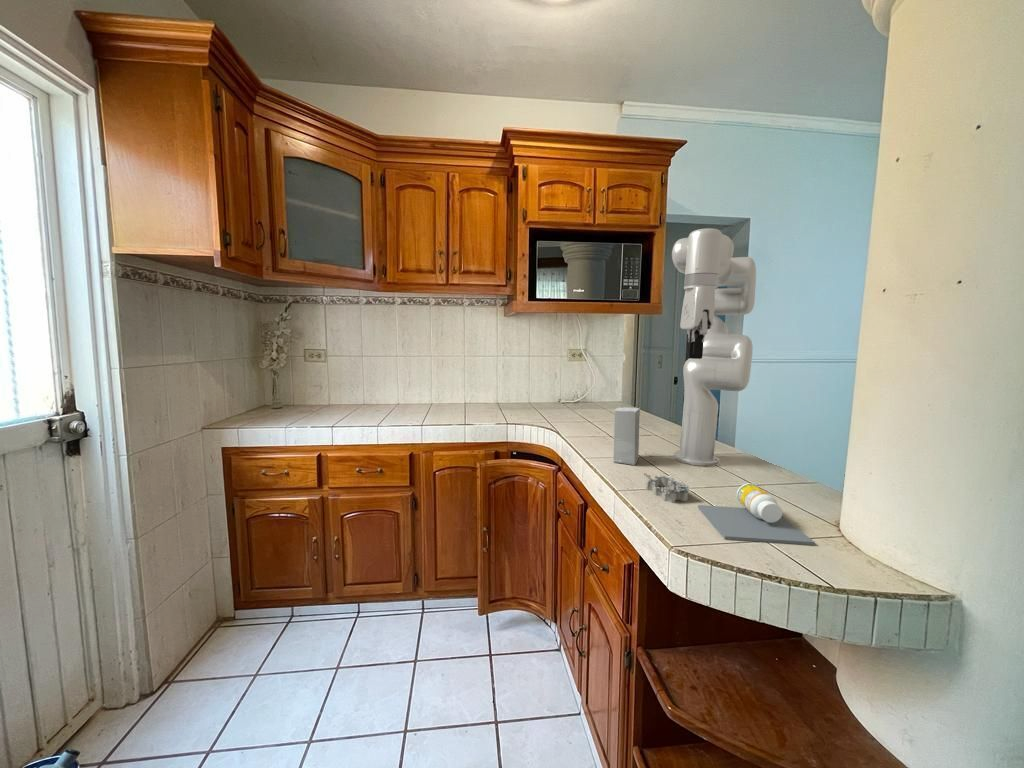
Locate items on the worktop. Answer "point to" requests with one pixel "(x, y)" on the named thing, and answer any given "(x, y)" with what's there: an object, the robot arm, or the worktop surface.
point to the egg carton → (667, 488)
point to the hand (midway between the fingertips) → (694, 358)
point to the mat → (752, 526)
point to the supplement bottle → (759, 503)
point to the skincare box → (626, 435)
